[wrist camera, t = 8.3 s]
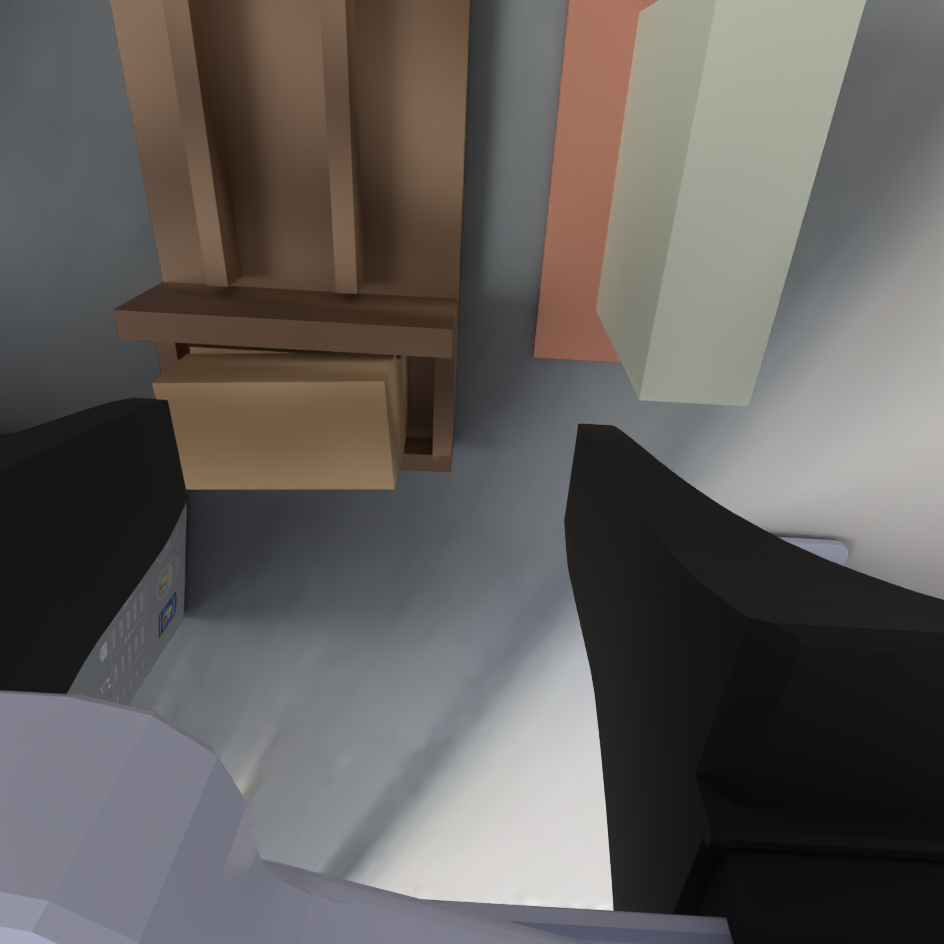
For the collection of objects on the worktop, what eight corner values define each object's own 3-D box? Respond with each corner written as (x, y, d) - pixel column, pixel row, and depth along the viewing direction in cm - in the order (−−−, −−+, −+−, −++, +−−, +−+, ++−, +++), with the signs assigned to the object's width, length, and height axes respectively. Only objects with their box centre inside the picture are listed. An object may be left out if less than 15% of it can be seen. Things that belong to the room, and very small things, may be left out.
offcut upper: (404, 451, 20) (394, 489, 18) (212, 452, 20) (181, 489, 18) (396, 351, 18) (384, 381, 16) (187, 353, 18) (151, 383, 17)
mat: (715, 364, 21) (718, 367, 21) (533, 354, 21) (533, 357, 21) (822, -64, 16) (828, -66, 15) (576, -78, 16) (577, -80, 15)
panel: (673, 313, 20) (749, 406, 14) (596, 309, 20) (639, 400, 14) (734, 17, 16) (874, -31, 10) (639, 12, 16) (724, -40, 10)
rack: (453, 443, 23) (446, 501, 20) (202, 429, 23) (153, 484, 20) (475, -110, 15) (469, -167, 12) (101, -131, 15) (-5, -192, 12)
